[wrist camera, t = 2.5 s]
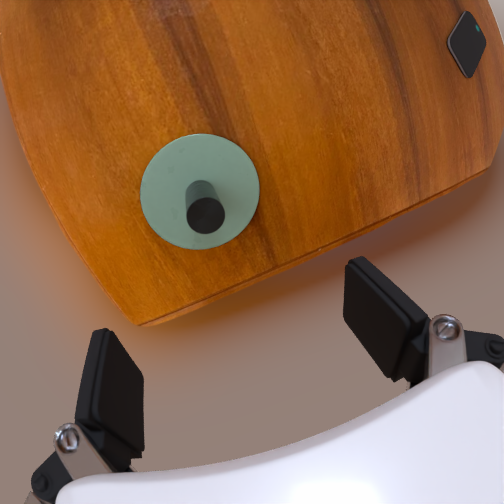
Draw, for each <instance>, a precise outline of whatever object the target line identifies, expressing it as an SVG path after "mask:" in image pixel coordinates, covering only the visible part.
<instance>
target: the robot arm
mask: <svg viewBox="0 0 504 504" xmlns="http://www.w3.org/2000/svg"><path fill="white" fill-rule="evenodd" d="M343 317H344V320H345V322H346V323H347V325H348V326H349V328H350V329H351V330H352V331H353V333H354V334H355V335H356V337H357V338H358V340H359V341H360V342H361V344H362V345H363V346H364V348H365V349H366V350H367V352H368V353H369V354H370V356H371V357H372V359H373V360H374V361H375V363H376V364H377V365H378V367H379V368H380V369H381V371H382V372H383V374H384V375H385V376H386V377H387V378H391V379H392V380H393V382H396V381H398V380H400V379H401V378H403V377H404V378H405V379H406V380H407V389H406V392H404V393H402V394H401V395H399V396H397V397H395V398H393V399H392V400H390V401H388V402H386V403H384V404H382V405H380V406H379V407H377V408H375V409H373V410H371V411H369V412H367V413H365V414H363V415H361V416H359V417H357V418H355V419H353V420H350V421H348V422H346V423H343V424H341V425H339V426H337V427H334V428H332V429H329V430H327V431H325V432H322V433H319V434H317V435H314V436H312V437H309V438H306V439H304V440H301V441H298V442H295V443H292V444H289V445H286V446H283V447H279V448H276V449H273V450H270V451H266V452H262V453H259V454H255V455H251V456H247V457H243V458H239V459H234V460H229V461H224V462H220V463H214V464H208V465H203V466H196V467H189V468H181V469H172V470H161V471H148V472H137V471H136V470H135V468H134V467H132V465H131V459H132V458H142V451H144V448H145V445H144V417H143V416H144V413H143V394H144V388H143V387H144V378H143V375H142V373H141V371H140V370H139V368H138V367H137V366H136V364H135V363H134V361H133V360H132V359H131V357H130V356H129V354H128V353H127V352H126V350H125V348H124V347H123V345H122V344H121V343H120V341H119V339H118V338H117V336H116V335H115V333H114V332H113V331H110V330H109V329H107V328H104V329H99V330H95V331H94V332H93V333H92V337H91V340H90V345H89V348H88V352H87V356H86V360H85V365H84V369H83V374H82V379H81V384H80V389H79V394H78V400H77V406H76V412H75V424H73V423H66V424H63V425H62V426H60V427H59V428H58V430H57V431H56V433H55V435H54V447H55V450H56V451H55V452H54V453H53V454H52V455H51V456H50V457H49V458H48V459H47V460H46V461H45V462H44V463H43V464H42V465H41V466H40V467H39V468H38V469H37V470H36V471H35V472H34V473H33V475H32V478H31V485H32V489H33V492H31V491H30V492H29V495H28V497H27V499H26V501H25V503H24V504H504V339H503V338H502V337H501V336H499V335H496V334H490V333H481V332H474V331H467V330H464V329H463V326H462V324H461V323H460V321H459V320H458V319H456V318H455V317H453V316H451V315H447V314H440V315H437V316H435V317H434V318H432V320H431V319H430V318H429V317H428V315H427V314H426V313H425V312H424V311H423V310H422V309H421V308H420V307H419V306H418V305H417V304H416V303H415V302H414V301H413V300H411V299H410V298H409V297H408V296H407V295H406V294H405V293H404V292H403V291H402V290H401V289H400V288H399V287H397V286H396V285H395V284H394V283H393V282H392V281H391V280H390V279H389V278H388V277H386V276H385V275H384V274H383V273H382V272H381V271H380V270H379V269H377V268H376V267H375V266H374V265H373V264H372V263H370V262H369V261H368V260H367V259H366V258H365V257H363V256H360V257H357V258H354V259H351V260H349V262H348V265H346V266H345V286H344V306H343Z"/></svg>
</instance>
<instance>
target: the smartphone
mask: <svg viewBox="0 0 504 504" xmlns="http://www.w3.org/2000/svg"><path fill="white" fill-rule="evenodd" d="M447 45H448V48H449V50H450V52H451V53H452V55H453V57H454V58H455V60H456V62H457V64H458V65H459V67H460V69H461V71H462V72H463V74H464V75H465V76H466V77H467V78H471V77H472V76H473V74H474V72H475V70H476V68H477V65H478V63H479V61H480V59H481V56H482V54H483V51H484V49H485V47H486V39H485V36H484V34H483V32H482V31H481V29H480V27H479V25H478V24H477V22H476V20H475V19H474V17H473V15H472V14H471V13H470V12H469V11H464V12H463V14H462V16H461V18H460V19H459V21H458V23H457V24H456V26H455V28H454V29H453V31H452V33H451V34H450V36H449V37H448V40H447Z"/></svg>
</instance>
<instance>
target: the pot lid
mask: <svg viewBox="0 0 504 504" xmlns="http://www.w3.org/2000/svg"><path fill="white" fill-rule="evenodd" d="M140 200H141V206H142V210H143V213H144V215H145V217H146V219H147V221H148V223H149V225H150V226H151V227H152V229H153V230H154V231H155V232H156V233H157V234H158V235H159V236H160V237H162V238H163V239H164V240H166V241H168V242H169V243H171V244H173V245H176V246H179V247H182V248H187V249H195V250H198V249H209V248H213V247H217V246H219V245H222V244H224V243H226V242H228V241H230V240H232V239H233V238H234V237H236V236H237V235H238V234H239V233H240V232H241V231H243V229H244V228H245V227H246V226H247V225H248V223H249V222H250V220H251V219H252V217H253V215H254V213H255V210H256V207H257V204H258V200H259V180H258V175H257V172H256V169H255V167H254V165H253V163H252V161H251V160H250V158H249V157H248V155H247V154H246V153H245V152H244V151H243V150H242V149H241V148H240V147H238V146H237V145H236V144H234V143H233V142H231V141H229V140H227V139H225V138H222V137H219V136H215V135H210V134H194V135H188V136H184V137H181V138H179V139H176V140H174V141H172V142H170V143H169V144H167V145H166V146H165V147H163V148H162V149H161V150H160V151H159V152H158V153H157V154H156V155H155V156H154V157H153V158H152V160H151V161H150V163H149V164H148V166H147V168H146V170H145V172H144V175H143V178H142V182H141V189H140Z"/></svg>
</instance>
